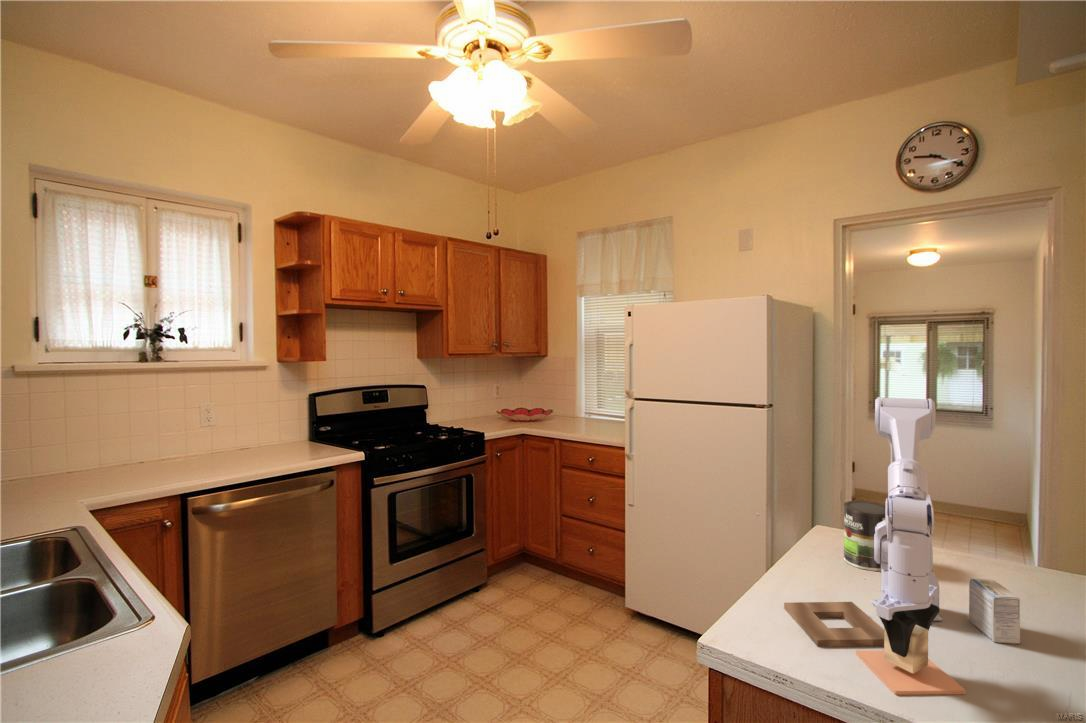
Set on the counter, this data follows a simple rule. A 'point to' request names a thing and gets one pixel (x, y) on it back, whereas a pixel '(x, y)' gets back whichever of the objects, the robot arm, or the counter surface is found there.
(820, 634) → the pocket plate
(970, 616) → the medicine box
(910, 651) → the birch block
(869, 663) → the tile
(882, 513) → the coffee can
